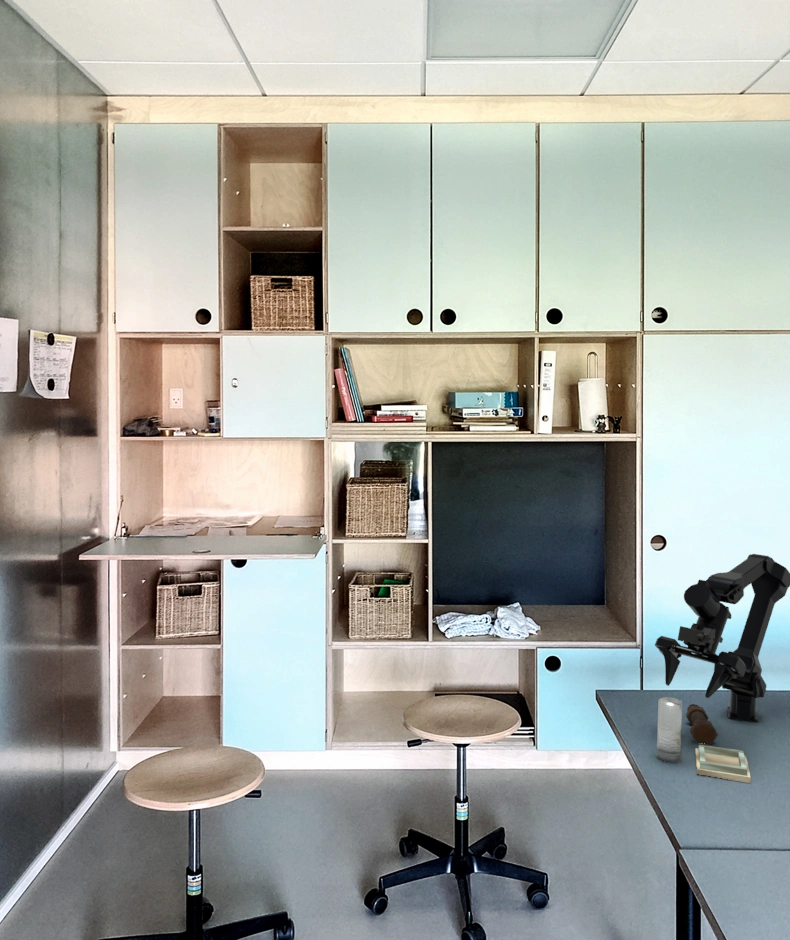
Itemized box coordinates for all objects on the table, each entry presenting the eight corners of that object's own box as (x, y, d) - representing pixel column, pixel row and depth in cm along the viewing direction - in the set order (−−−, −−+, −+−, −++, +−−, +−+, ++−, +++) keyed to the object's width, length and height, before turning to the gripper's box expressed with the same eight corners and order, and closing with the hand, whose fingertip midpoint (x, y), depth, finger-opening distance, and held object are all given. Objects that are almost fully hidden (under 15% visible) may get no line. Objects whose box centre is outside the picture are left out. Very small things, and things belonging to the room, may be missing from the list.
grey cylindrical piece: (656, 750, 165) (658, 695, 164) (680, 754, 163) (682, 698, 162) (656, 760, 161) (658, 704, 159) (680, 764, 159) (682, 707, 158)
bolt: (696, 725, 183) (707, 750, 168) (678, 713, 184) (686, 737, 169) (710, 705, 182) (721, 730, 167) (691, 694, 183) (701, 717, 168)
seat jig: (695, 753, 164) (695, 742, 164) (745, 760, 160) (746, 750, 160) (696, 774, 154) (697, 763, 154) (750, 783, 151) (750, 771, 151)
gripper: (657, 602, 172) (633, 664, 167) (738, 620, 158) (714, 688, 153) (676, 623, 178) (653, 684, 173) (756, 642, 164) (733, 709, 159)
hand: (686, 690), depth 164 cm, fingers open, 9 cm apart
